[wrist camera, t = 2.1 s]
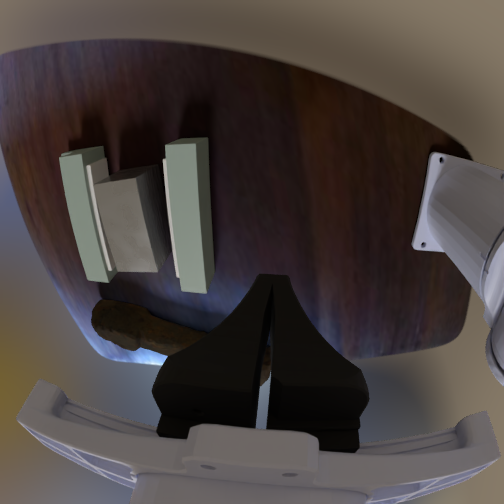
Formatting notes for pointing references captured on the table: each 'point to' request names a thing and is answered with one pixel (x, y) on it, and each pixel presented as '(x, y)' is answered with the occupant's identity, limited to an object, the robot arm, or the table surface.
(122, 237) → the block
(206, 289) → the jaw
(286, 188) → the table surface
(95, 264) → the pale green bar
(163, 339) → the brown wooden log
